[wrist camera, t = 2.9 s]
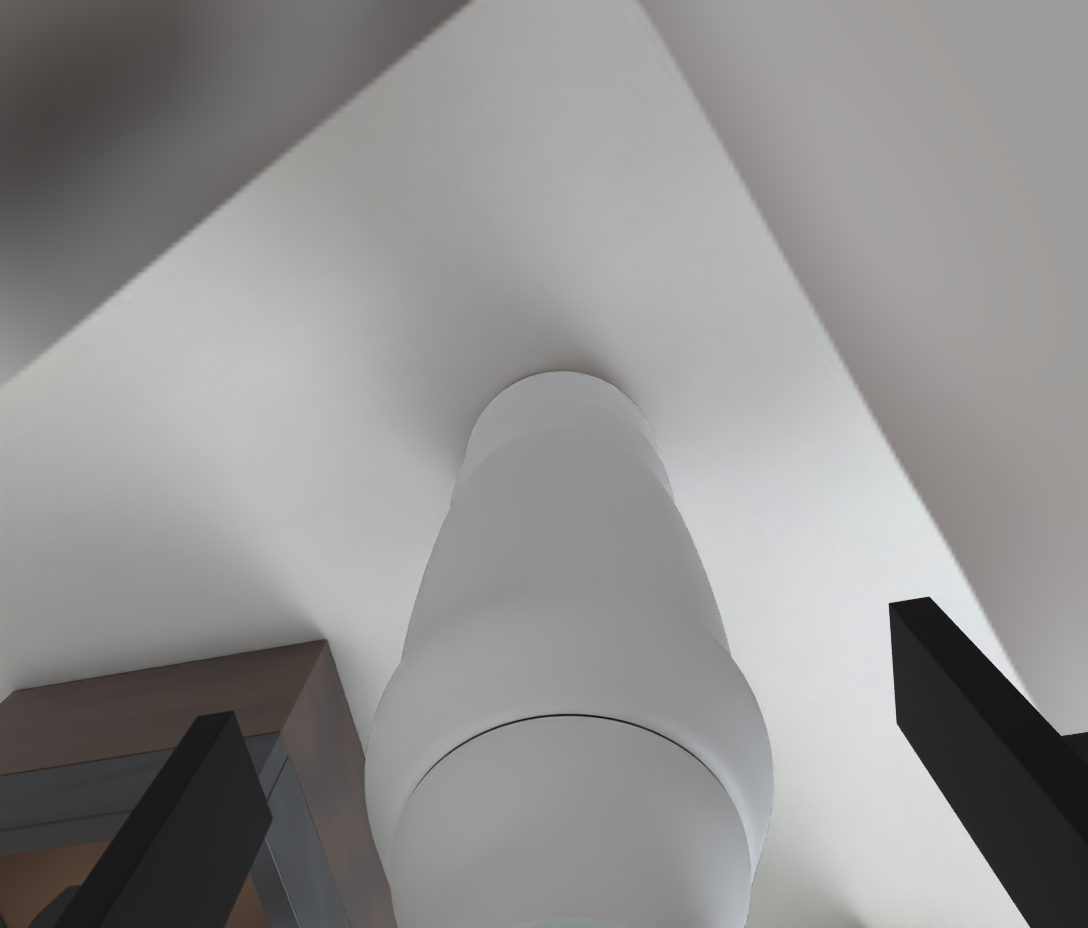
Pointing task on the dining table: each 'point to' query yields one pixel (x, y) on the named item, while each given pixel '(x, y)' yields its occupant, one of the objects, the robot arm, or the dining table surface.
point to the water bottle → (567, 693)
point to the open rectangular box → (144, 747)
